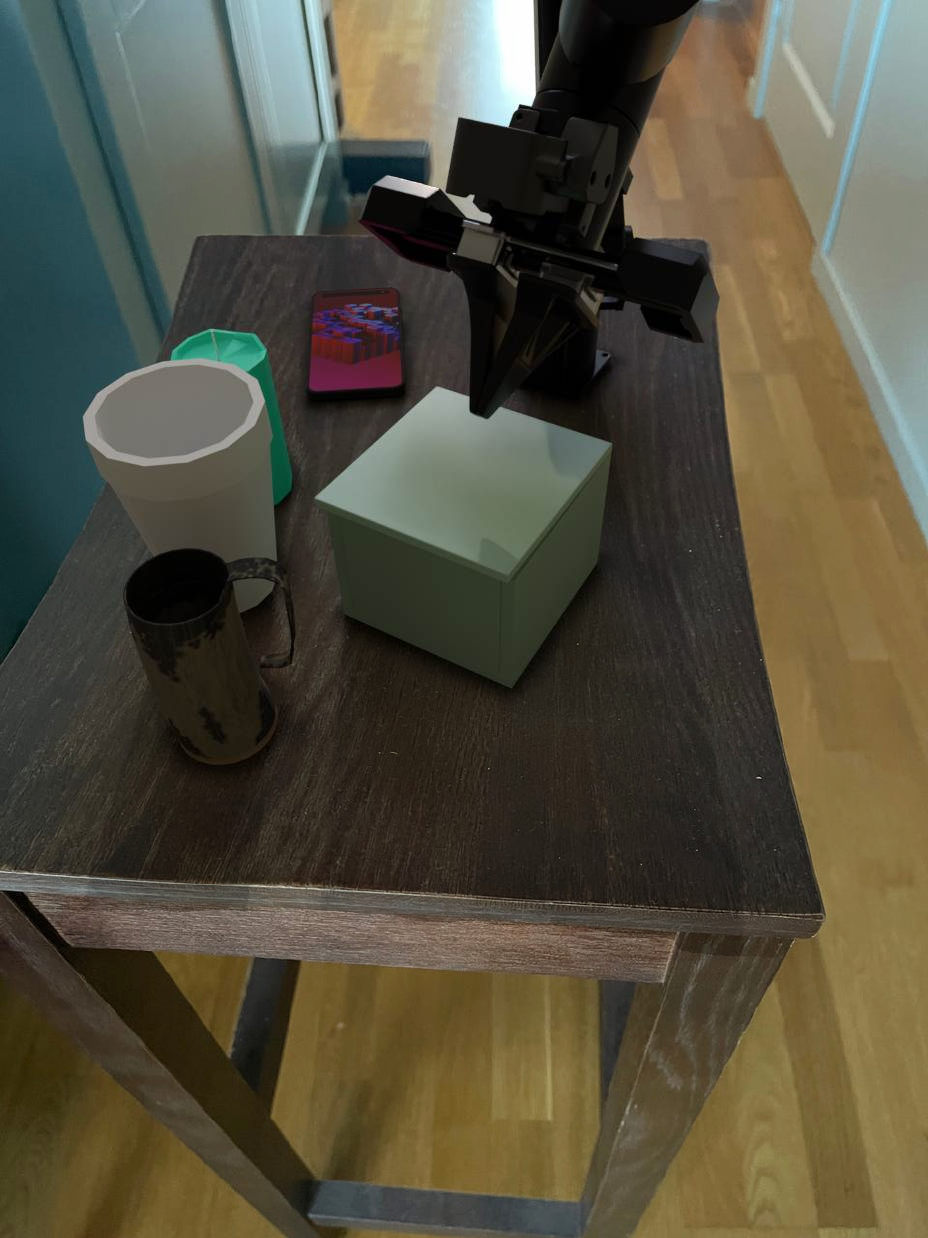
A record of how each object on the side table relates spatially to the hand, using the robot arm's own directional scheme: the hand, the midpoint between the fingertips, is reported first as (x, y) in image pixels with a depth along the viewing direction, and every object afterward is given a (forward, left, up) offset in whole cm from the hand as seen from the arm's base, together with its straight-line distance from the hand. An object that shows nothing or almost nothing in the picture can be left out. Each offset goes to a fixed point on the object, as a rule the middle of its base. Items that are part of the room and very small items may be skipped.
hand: (478, 415), depth 49 cm
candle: (0, -18, -12) cm, 22 cm away
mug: (+16, -6, -12) cm, 21 cm away
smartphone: (-18, -22, -12) cm, 31 cm away
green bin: (+1, 0, -12) cm, 12 cm away
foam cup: (+8, -14, -12) cm, 20 cm away
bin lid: (+2, 0, -3) cm, 3 cm away
